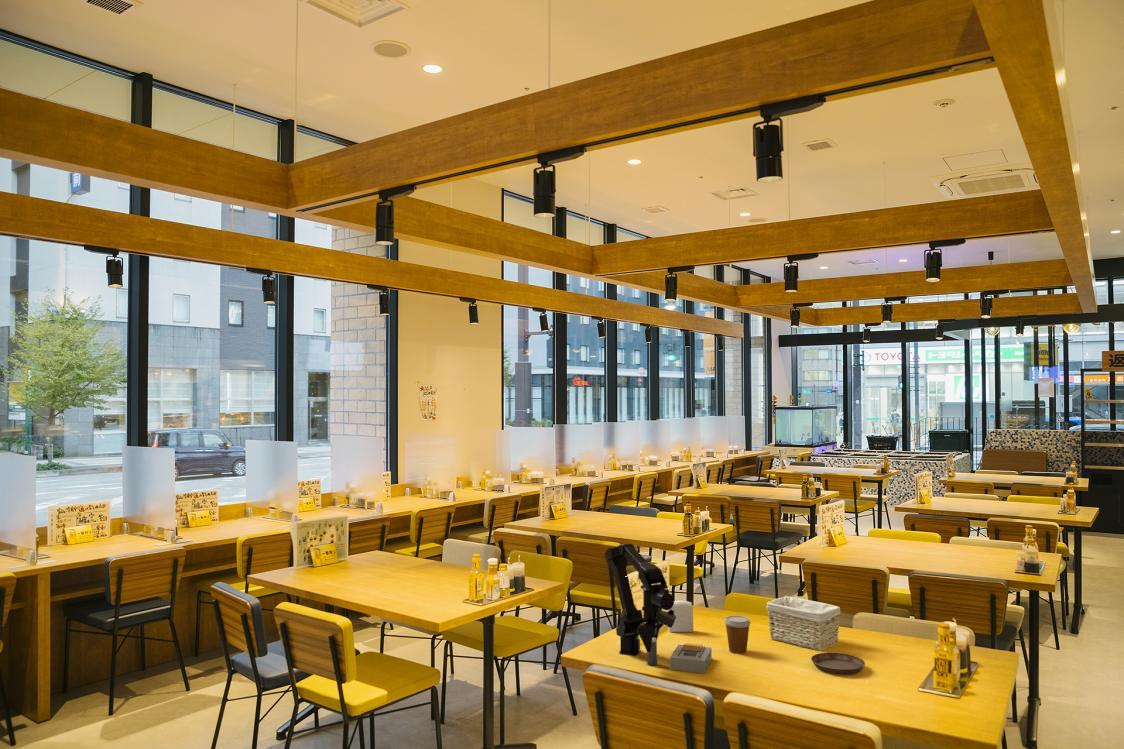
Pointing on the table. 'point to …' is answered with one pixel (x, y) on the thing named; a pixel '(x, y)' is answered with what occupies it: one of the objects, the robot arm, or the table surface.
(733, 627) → the disposable coffee cup
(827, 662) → the plant saucer
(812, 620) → the storage basket
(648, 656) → the grey cylinder
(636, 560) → the robot arm
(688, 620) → the photo printer
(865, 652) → the table surface
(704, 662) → the socket
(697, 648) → the shutter
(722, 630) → the table surface
